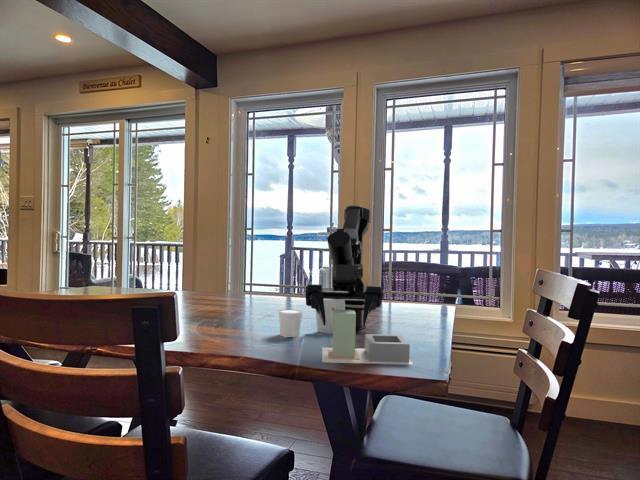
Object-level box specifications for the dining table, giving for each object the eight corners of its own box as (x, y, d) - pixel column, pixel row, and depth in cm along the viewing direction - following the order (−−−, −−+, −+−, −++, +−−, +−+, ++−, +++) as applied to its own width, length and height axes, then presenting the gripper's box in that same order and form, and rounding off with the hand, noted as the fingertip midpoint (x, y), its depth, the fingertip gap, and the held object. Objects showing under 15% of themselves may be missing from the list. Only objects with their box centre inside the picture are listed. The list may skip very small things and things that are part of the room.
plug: (332, 350, 95) (333, 309, 95) (353, 351, 95) (354, 309, 95) (333, 356, 90) (334, 313, 90) (354, 357, 90) (355, 313, 90)
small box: (332, 324, 126) (331, 292, 125) (346, 327, 123) (345, 294, 122) (316, 331, 120) (314, 297, 119) (330, 334, 117) (328, 300, 116)
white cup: (303, 333, 118) (303, 309, 118) (299, 338, 111) (300, 313, 111) (280, 332, 119) (281, 308, 119) (275, 337, 112) (276, 312, 112)
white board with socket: (322, 351, 99) (322, 331, 99) (402, 353, 98) (402, 333, 98) (322, 366, 87) (322, 343, 87) (412, 368, 86) (413, 346, 86)
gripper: (306, 251, 97) (303, 303, 86) (382, 253, 96) (389, 305, 85) (307, 280, 105) (304, 331, 93) (377, 282, 104) (383, 333, 93)
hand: (344, 325), depth 91 cm, fingers open, 9 cm apart
